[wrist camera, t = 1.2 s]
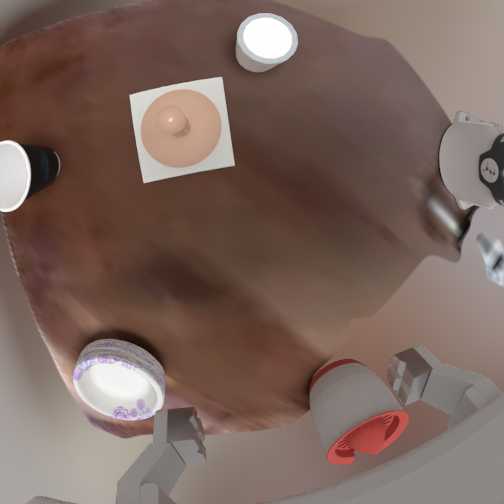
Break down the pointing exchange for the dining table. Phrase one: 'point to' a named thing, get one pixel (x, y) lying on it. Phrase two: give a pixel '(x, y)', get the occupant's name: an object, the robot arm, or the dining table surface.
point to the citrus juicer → (354, 411)
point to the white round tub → (264, 42)
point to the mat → (215, 160)
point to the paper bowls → (119, 379)
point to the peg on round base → (181, 128)
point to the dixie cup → (24, 172)
